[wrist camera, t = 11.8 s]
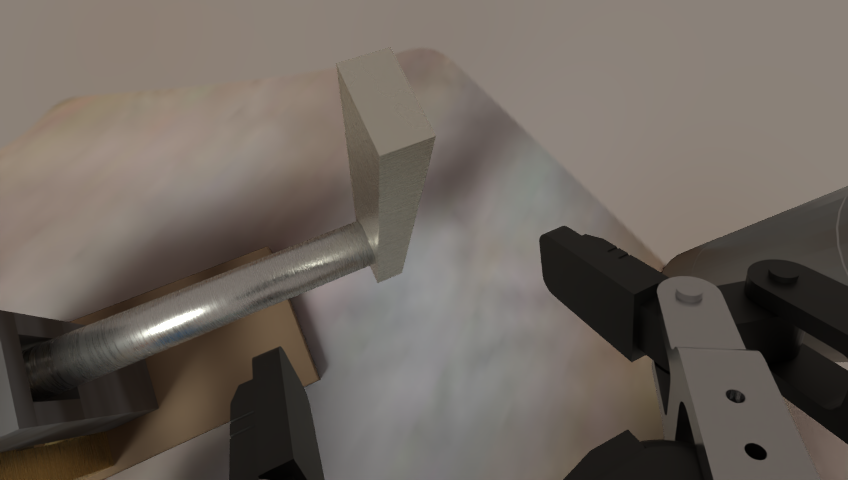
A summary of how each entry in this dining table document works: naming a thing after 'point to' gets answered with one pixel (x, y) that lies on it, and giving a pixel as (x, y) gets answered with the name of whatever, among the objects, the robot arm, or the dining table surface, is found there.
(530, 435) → the dining table surface
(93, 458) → the spacer
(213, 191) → the dining table surface
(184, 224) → the dining table surface
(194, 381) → the stand
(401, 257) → the shaft
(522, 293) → the dining table surface
